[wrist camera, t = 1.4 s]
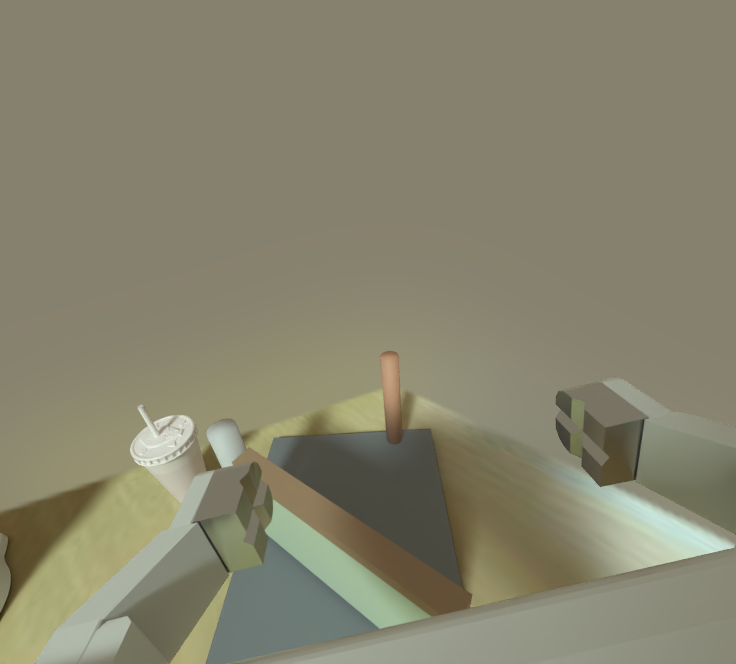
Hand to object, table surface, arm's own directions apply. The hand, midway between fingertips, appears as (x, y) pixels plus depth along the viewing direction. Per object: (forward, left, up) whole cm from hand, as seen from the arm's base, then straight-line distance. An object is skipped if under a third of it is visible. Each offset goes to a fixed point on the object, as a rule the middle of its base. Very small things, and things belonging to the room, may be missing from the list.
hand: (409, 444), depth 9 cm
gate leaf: (-5, +8, -27) cm, 28 cm away
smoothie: (-25, +19, -29) cm, 43 cm away
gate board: (-6, +14, -29) cm, 32 cm away
